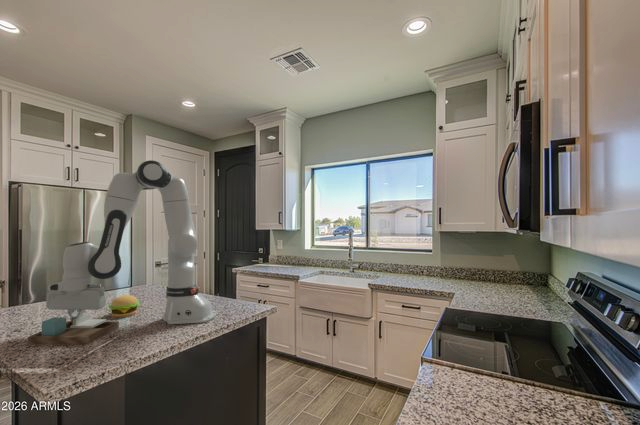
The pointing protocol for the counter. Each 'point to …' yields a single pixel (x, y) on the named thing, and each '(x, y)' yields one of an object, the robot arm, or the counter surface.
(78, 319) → the cover
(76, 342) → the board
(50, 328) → the block
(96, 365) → the counter surface
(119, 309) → the hamburger
